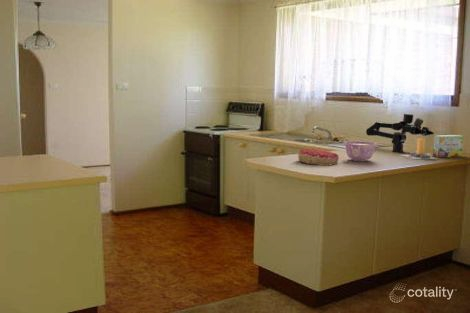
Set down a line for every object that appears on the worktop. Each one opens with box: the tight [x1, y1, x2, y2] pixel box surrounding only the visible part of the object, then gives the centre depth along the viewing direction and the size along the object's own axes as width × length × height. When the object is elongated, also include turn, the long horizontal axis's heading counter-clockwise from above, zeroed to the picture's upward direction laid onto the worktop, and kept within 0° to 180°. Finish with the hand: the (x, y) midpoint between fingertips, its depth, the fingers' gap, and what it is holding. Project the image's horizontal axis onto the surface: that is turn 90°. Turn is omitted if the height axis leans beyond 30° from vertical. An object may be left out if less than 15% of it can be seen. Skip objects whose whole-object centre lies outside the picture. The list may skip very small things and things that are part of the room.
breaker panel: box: [400, 150, 439, 161], centre depth 357 cm, size 18×17×4 cm
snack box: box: [432, 134, 464, 158], centre depth 364 cm, size 21×6×15 cm, turn 112°
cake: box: [298, 148, 340, 166], centre depth 328 cm, size 25×25×8 cm
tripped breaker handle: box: [415, 138, 426, 154], centre depth 355 cm, size 3×4×10 cm
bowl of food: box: [344, 140, 377, 162], centre depth 338 cm, size 20×20×12 cm
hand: (430, 133), depth 363 cm, fingers open, 9 cm apart
